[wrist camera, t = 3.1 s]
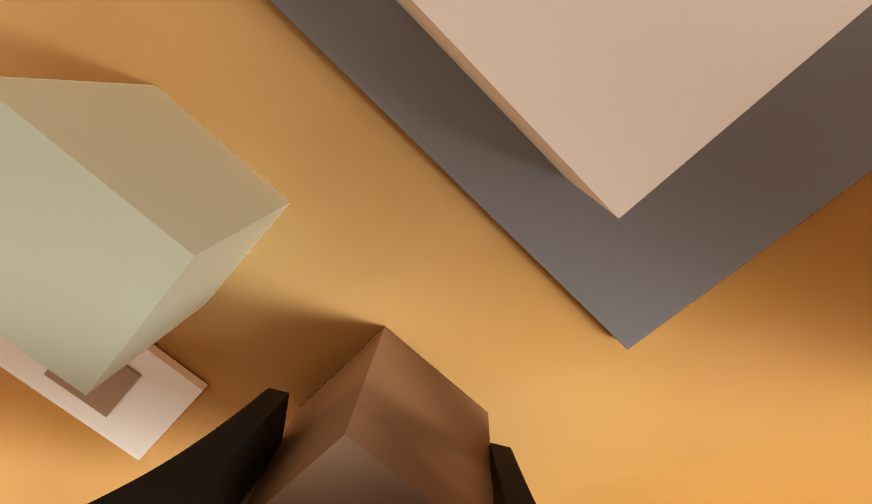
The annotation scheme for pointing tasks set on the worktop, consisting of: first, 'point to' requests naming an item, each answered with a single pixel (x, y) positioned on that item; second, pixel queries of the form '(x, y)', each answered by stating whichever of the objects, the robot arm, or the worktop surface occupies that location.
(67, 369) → the sage green block
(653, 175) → the off-white block
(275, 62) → the worktop surface
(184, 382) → the card
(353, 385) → the walnut block
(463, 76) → the mat
